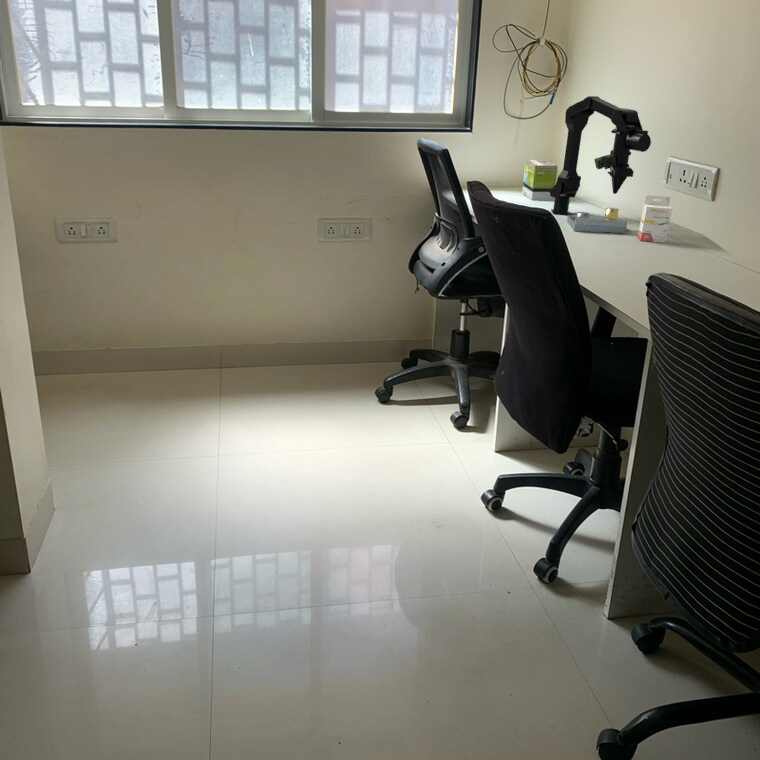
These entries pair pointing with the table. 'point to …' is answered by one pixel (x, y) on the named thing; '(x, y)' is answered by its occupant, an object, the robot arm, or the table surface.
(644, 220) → the ink cartridge box
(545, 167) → the tea box
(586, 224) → the jig plate
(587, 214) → the steel bushing
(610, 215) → the cylinder
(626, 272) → the table surface
